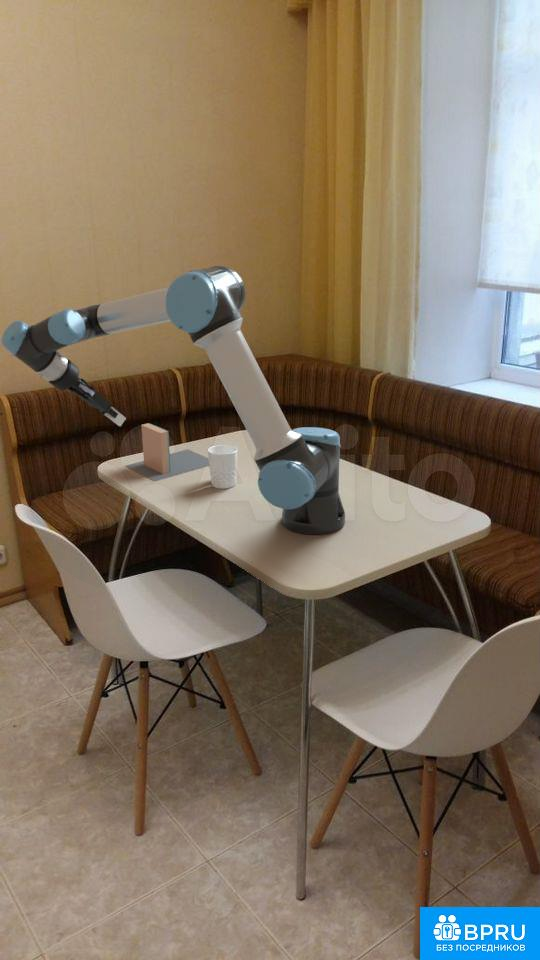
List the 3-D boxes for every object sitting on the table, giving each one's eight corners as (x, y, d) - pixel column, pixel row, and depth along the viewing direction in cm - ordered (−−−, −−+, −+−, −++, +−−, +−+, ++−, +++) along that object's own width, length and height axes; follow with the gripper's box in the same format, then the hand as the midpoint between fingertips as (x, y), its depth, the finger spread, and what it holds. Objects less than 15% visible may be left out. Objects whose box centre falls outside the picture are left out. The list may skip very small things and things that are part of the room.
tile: (163, 474, 211) (160, 433, 206) (144, 464, 218) (141, 424, 213) (170, 472, 212) (168, 431, 208) (151, 462, 219) (148, 423, 215)
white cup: (225, 492, 200) (224, 456, 196) (203, 485, 204) (201, 450, 201) (244, 483, 206) (243, 448, 202) (222, 477, 210) (221, 442, 206)
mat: (154, 483, 206) (154, 481, 206) (124, 467, 217) (124, 465, 217) (219, 464, 219) (219, 462, 219) (187, 451, 230) (187, 449, 230)
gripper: (37, 377, 191) (102, 427, 207) (60, 387, 182) (126, 439, 198) (55, 353, 192) (117, 405, 208) (79, 362, 183) (142, 415, 199)
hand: (121, 421), depth 203 cm, fingers closed
